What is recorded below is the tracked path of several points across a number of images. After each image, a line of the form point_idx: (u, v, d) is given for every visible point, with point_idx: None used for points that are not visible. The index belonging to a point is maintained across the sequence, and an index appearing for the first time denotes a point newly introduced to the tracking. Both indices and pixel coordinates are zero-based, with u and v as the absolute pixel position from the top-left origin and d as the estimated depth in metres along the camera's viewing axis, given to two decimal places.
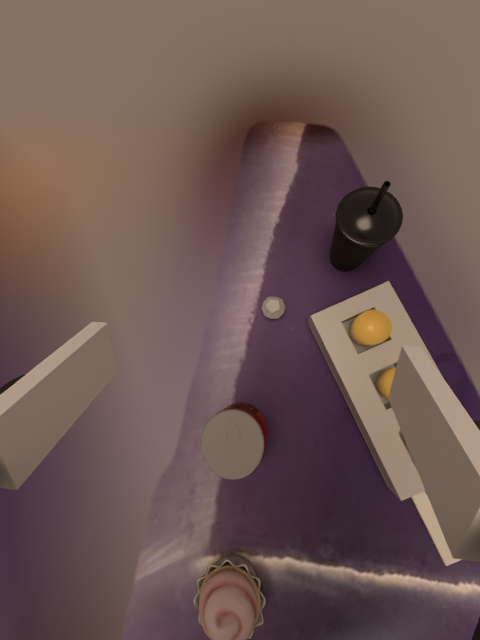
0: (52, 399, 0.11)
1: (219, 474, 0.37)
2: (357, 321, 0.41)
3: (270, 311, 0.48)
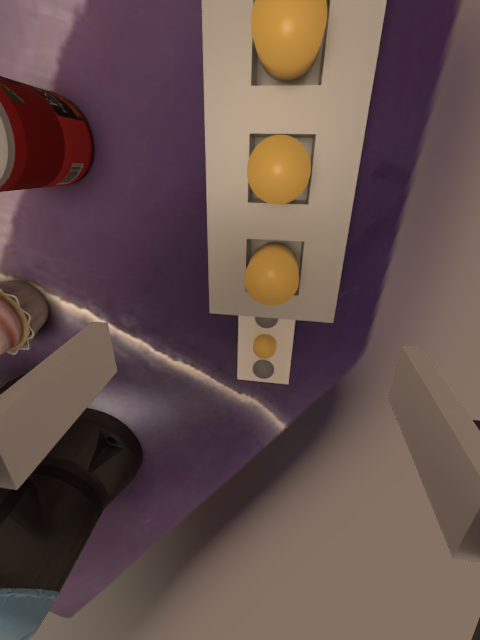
0: (52, 399, 0.11)
1: None
2: None
3: None
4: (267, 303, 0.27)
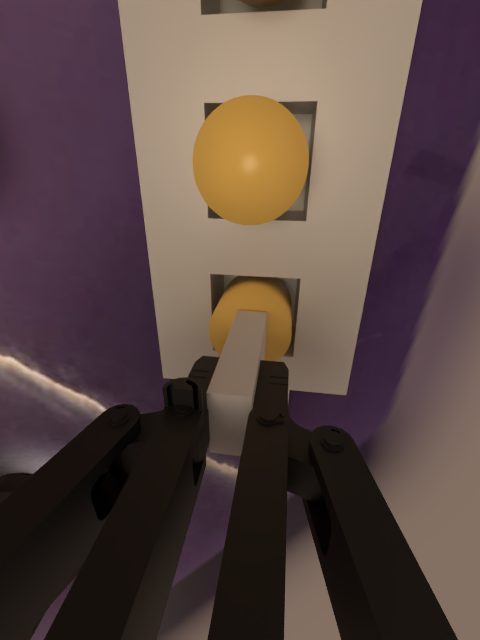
0: None
1: None
2: None
3: None
4: None
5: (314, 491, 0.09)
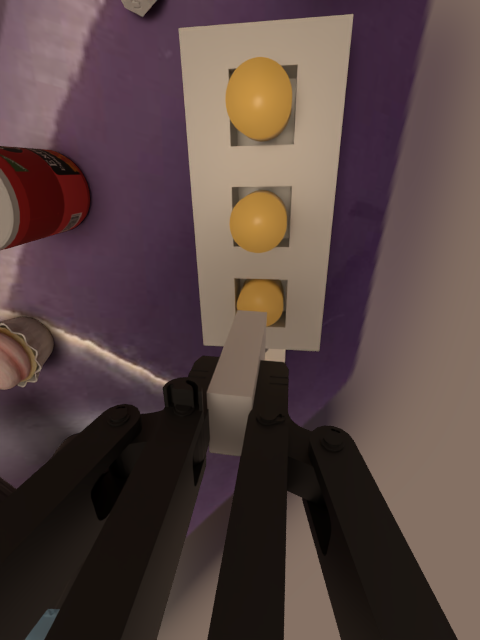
0: None
1: None
2: (235, 74, 0.21)
3: None
4: None
5: (314, 491, 0.09)
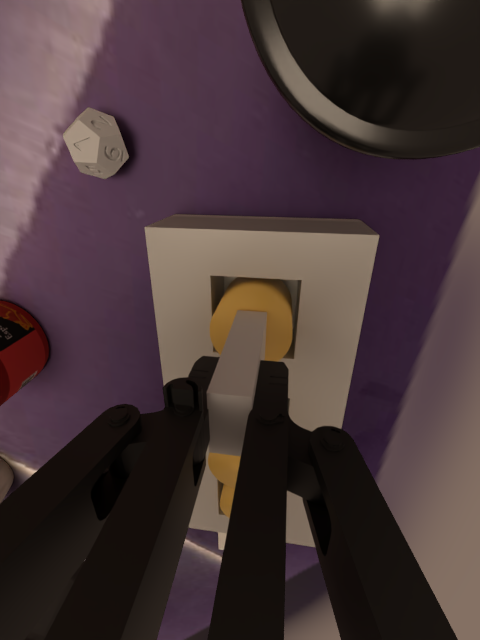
0: None
1: None
2: (221, 307, 0.16)
3: (73, 157, 0.18)
4: None
5: (314, 491, 0.09)
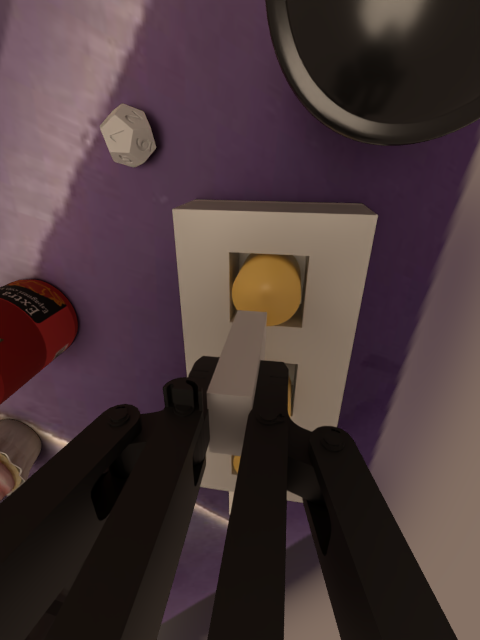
0: None
1: None
2: (242, 273, 0.20)
3: (109, 147, 0.21)
4: None
5: (314, 491, 0.09)
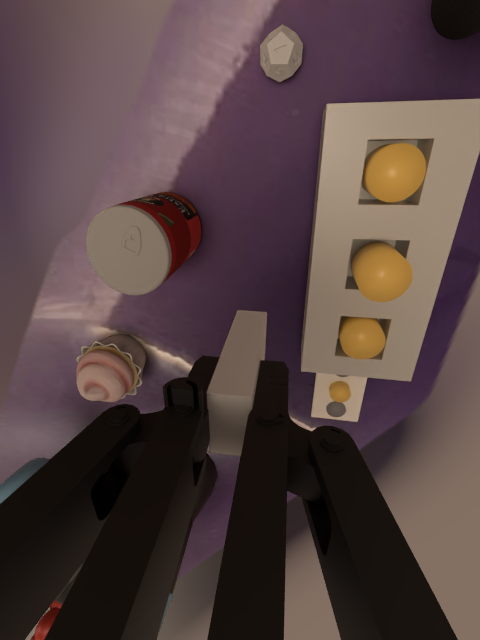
0: None
1: (103, 280, 0.29)
2: (380, 154, 0.26)
3: (270, 60, 0.26)
4: (357, 357, 0.34)
5: (314, 491, 0.09)
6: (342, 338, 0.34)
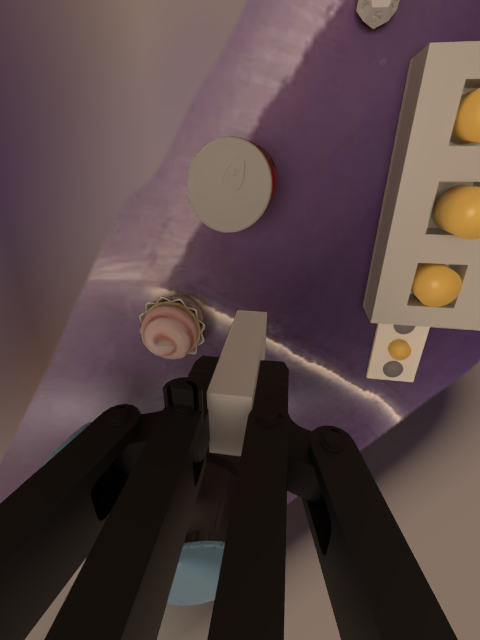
0: None
1: (199, 216, 0.30)
2: (478, 92, 0.27)
3: (372, 3, 0.28)
4: (432, 305, 0.35)
5: (314, 491, 0.09)
6: (418, 285, 0.35)
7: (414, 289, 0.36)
